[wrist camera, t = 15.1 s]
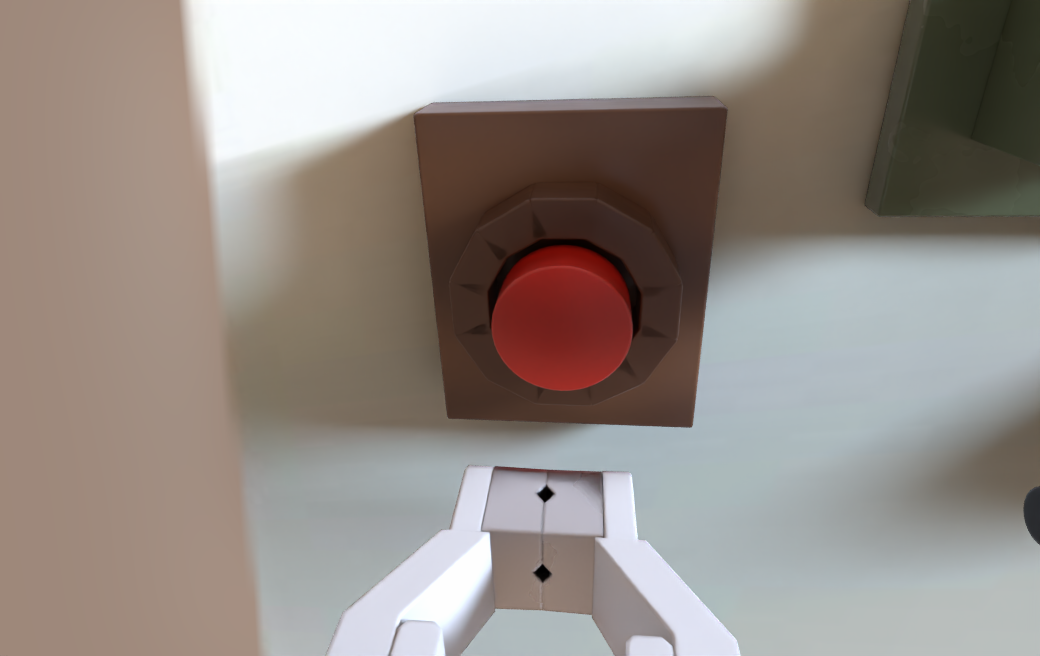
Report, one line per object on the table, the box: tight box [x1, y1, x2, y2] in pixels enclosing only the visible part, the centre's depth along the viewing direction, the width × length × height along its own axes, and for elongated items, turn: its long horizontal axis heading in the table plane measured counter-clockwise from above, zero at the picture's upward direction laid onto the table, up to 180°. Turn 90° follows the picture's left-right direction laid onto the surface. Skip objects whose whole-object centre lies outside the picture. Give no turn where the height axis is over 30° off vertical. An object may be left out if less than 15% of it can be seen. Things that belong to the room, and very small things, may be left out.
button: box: [491, 245, 633, 391], centre depth 18 cm, size 4×4×2 cm
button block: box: [414, 96, 728, 428], centre depth 21 cm, size 11×9×4 cm
